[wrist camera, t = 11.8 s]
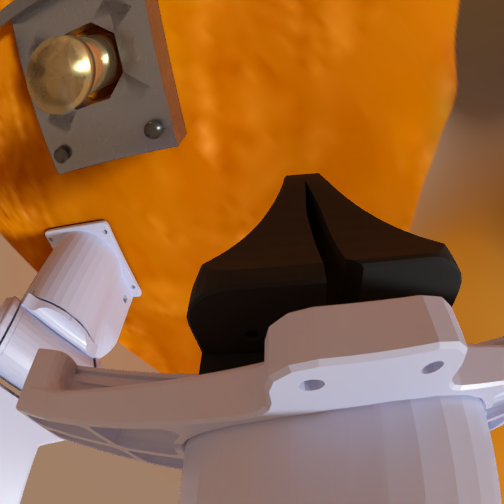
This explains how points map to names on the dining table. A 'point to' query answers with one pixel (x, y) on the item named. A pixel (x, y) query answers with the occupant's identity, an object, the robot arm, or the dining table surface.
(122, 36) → the jig
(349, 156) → the dining table surface
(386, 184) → the dining table surface
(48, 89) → the brass door knob
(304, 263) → the robot arm
